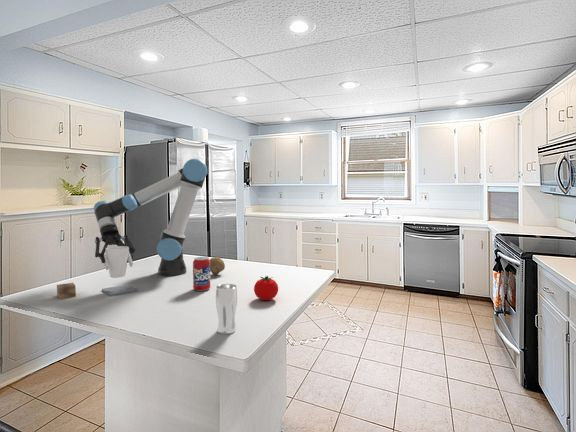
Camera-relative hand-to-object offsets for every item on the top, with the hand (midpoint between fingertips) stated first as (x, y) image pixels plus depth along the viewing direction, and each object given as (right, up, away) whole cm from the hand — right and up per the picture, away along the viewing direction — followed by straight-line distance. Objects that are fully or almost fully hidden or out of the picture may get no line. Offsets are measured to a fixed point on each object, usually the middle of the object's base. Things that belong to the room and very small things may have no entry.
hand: (119, 266), depth 151 cm
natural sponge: (+36, -10, +34) cm, 51 cm away
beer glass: (+55, -16, -39) cm, 70 cm away
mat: (-2, -12, +3) cm, 12 cm away
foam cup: (-2, -5, +3) cm, 6 cm away
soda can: (+35, -12, +6) cm, 38 cm away
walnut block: (-21, -12, -5) cm, 25 cm away
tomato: (+66, -13, -7) cm, 68 cm away
